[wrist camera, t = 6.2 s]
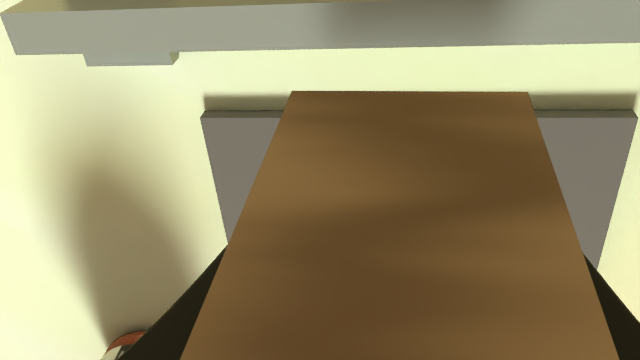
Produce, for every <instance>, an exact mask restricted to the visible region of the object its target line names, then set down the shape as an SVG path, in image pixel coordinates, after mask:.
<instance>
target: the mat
mask: <svg viewBox="0 0 640 360" xmlns="http://www.w3.org/2000/svg"><path fill="white" fill-rule="evenodd" d="M534 112H535V115H536V118H537V121H538V124H539V127H540V130H541V133H542V136H543V139H544V142H545V144H546V147H547V150H548V153H549V156H550V159H551V162H552V165H553V168H554V171H555V174H556V176H557V179H558V182H559V185H560V188H561V191H562V194H563V197H564V200H565V203H566V206H567V208H568V211H569V214H570V217H571V220H572V223H573V226H574V229H575V232H576V235H577V238H578V240H579V243H580V246H581V249H582V252H583V253H584V254H585V256H586V257H587V258H588V259H589V261H590V262H591V263H592V265H593V266H594V267H595V268H596V270H597V268H598V264H599V260H600V257H601V253H602V249H603V246H604V242H605V238H606V234H607V231H608V227H609V223H610V220H611V216H612V212H613V209H614V205H615V201H616V198H617V194H618V190H619V187H620V183H621V179H622V176H623V172H624V168H625V165H626V161H627V157H628V153H629V150H630V146H631V142H632V139H633V135H634V131H635V128H636V124H637V120H638V117H637V115H636V114H635V112H634V111H633V110H534ZM282 114H283V111H204V113H203V114H202V116H201V117H200V120H201V124H202V129H203V133H204V138H205V142H206V147H207V151H208V156H209V160H210V165H211V169H212V174H213V178H214V183H215V187H216V192H217V196H218V201H219V205H220V210H221V214H222V219H223V223H224V228H225V232H226V237H227V241H228V243H229V241H230V238H231V236H232V234H233V231H234V229H235V226H236V224H237V222H238V219H239V217H240V214H241V212H242V210H243V207H244V205H245V202H246V200H247V198H248V195H249V193H250V190H251V188H252V186H253V183H254V181H255V178H256V176H257V174H258V171H259V169H260V166H261V164H262V162H263V159H264V157H265V154H266V152H267V150H268V147H269V145H270V142H271V140H272V138H273V135H274V133H275V130H276V128H277V126H278V123H279V121H280V118H281V116H282Z"/></svg>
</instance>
